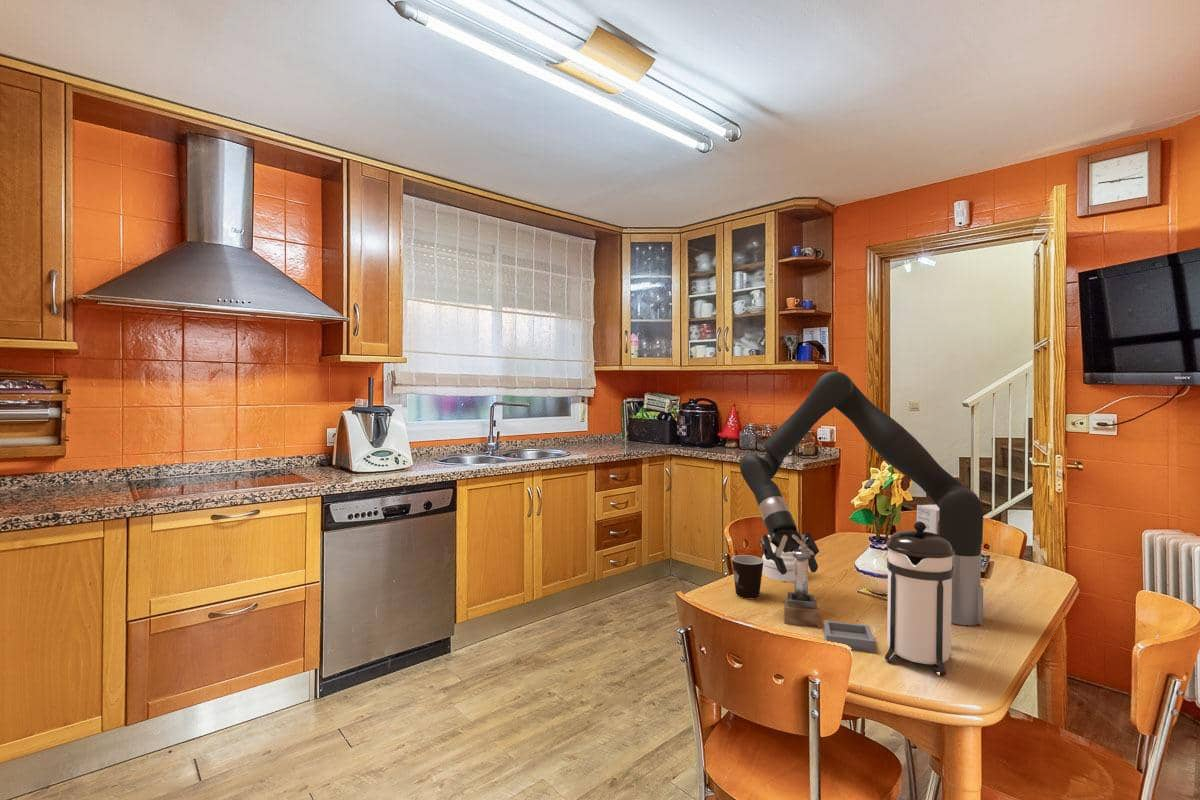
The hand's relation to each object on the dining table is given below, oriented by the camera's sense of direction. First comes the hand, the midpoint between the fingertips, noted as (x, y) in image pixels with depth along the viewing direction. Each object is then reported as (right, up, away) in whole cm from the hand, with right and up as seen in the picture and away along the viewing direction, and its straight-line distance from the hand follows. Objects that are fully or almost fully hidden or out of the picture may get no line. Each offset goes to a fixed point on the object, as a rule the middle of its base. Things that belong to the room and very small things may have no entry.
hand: (799, 572), depth 147 cm
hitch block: (0, -12, 0) cm, 12 cm away
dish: (+7, -12, -13) cm, 19 cm away
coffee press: (+18, -13, -21) cm, 30 cm away
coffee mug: (-9, -11, +18) cm, 23 cm away
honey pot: (+6, -11, +33) cm, 36 cm away
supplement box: (+67, -11, +55) cm, 87 cm away
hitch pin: (0, -8, -1) cm, 8 cm away
